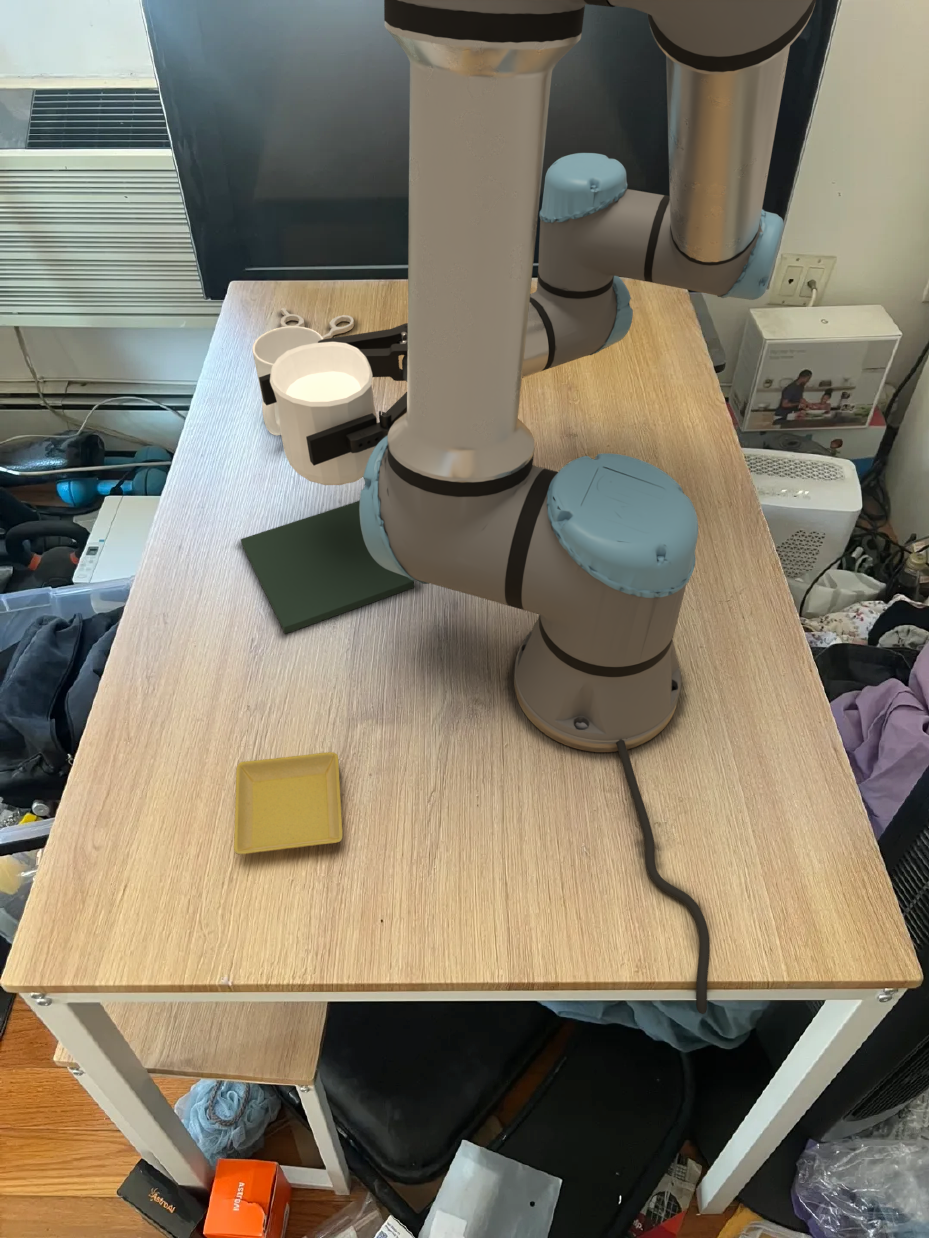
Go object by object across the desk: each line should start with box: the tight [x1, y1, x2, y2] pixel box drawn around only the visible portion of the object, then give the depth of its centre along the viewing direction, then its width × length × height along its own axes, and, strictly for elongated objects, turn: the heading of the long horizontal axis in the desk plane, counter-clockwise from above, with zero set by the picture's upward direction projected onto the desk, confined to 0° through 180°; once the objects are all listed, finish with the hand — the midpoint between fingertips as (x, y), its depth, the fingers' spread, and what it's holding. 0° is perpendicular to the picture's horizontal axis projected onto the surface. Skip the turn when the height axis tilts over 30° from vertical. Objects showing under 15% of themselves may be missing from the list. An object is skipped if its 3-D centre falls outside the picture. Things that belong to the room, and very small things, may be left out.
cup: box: [270, 342, 379, 486], centre depth 85 cm, size 10×10×10 cm
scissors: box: [280, 307, 355, 339], centre depth 122 cm, size 11×1×20 cm
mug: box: [251, 325, 323, 436], centre depth 108 cm, size 12×8×10 cm
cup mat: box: [240, 500, 415, 634], centre depth 95 cm, size 14×14×1 cm
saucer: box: [233, 751, 344, 855], centre depth 76 cm, size 9×9×2 cm
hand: (285, 420), depth 83 cm, fingers closed on cup, 10 cm apart
